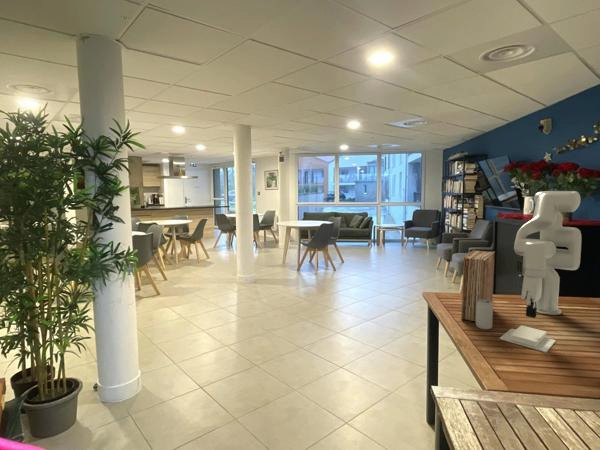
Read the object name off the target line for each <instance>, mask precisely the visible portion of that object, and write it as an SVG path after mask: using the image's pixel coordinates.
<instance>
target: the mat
mask: <svg viewBox="0 0 600 450" xmlns="http://www.w3.org/2000/svg"><path fill="white" fill-rule="evenodd" d="M515 330H516V329H515V328H510V329H508V330H507V332H505V333H504V334H503V335H502V336H500V337H499V340H501V341H505V342H509V343H512V344H515V345H519V346H522V347H525V348H530V349H533V350H536V351H539V352H542V353H543V352H544V353H548V351H549V350H550V349H551V348H552V347H553V345H554V344H555V343H556V341H557V340H555V339H552V338H549V337H545V338H544V339H543V340H542V341H541V342H540V343H539V344H538V346H537V347H533V346H529V345H526V344H522V343H519V342H515V341H512V340H510V334H512V333H513V332H514V331H515Z"/></svg>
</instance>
